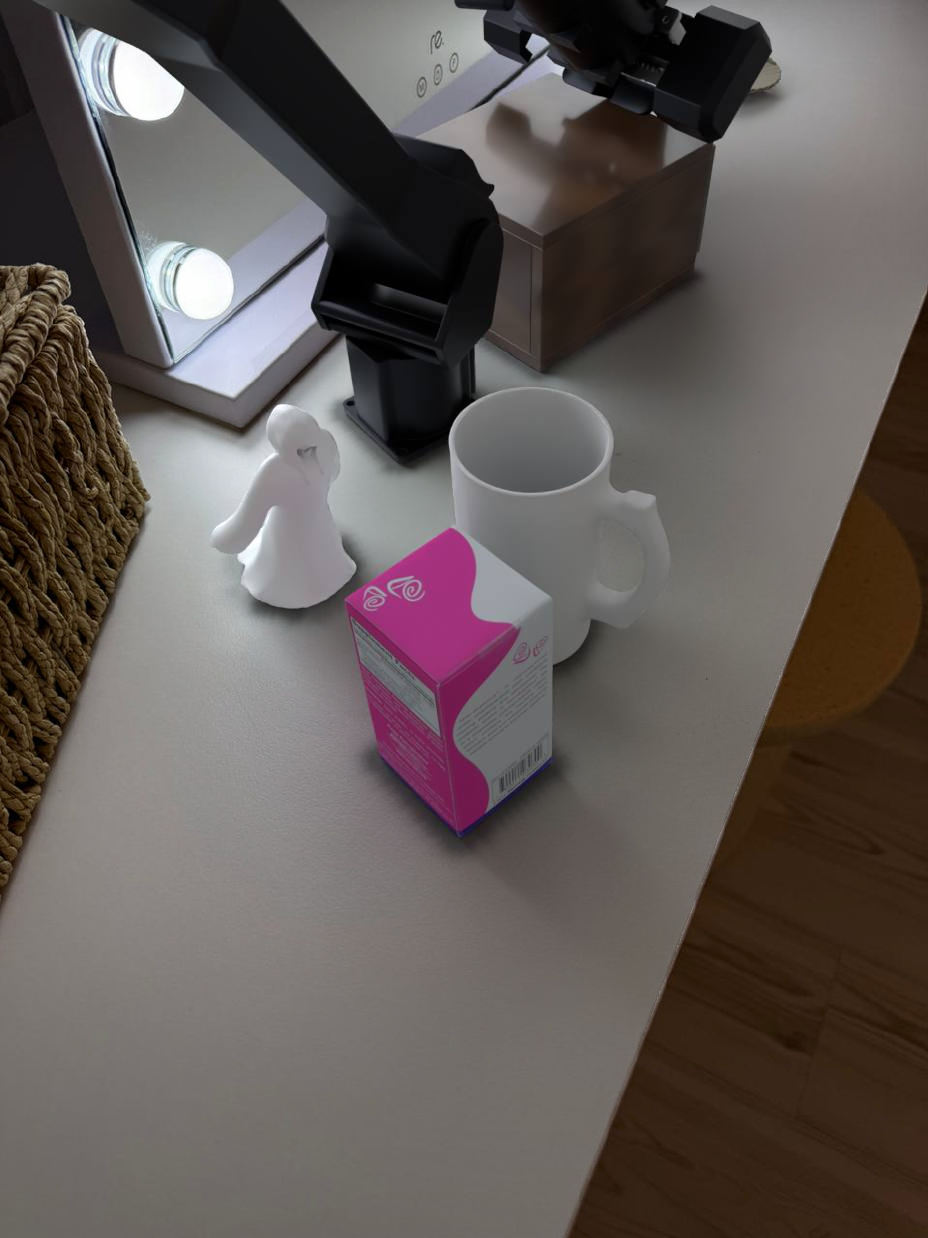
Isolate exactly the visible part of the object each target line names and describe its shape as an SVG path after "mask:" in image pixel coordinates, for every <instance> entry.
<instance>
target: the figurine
mask: <svg viewBox="0 0 928 1238" xmlns="http://www.w3.org/2000/svg"><path fill="white" fill-rule="evenodd" d="M265 433H266V437H267V440H268V442H269V444H270V445H271V446H272V448H273V449H274V451H275V452H273V453H271V454H270V455H268V456H267V458H265V459H264V460H263V462H262V463H261V464H260V465H259V466H258V468H257V470H256V472H255V474H254V476H253V478H252V480H251V482H250V484H249V486H248V488H247V490H246V493H245V494H244V496H243V498H242V500H241V501H240V504H239V505H238V507H237V509H236V510H235V511H234V512H233V513H232V514H231V515H230V516H229V517H228V518H227V519H226V520H225V521H223V522H221V523H219V525H217V526H216V527H214V528H213V531H212V533H211V535H210V541H209V542H210V543H209V546H210V547H211V548H212V549H216V550H217V552H220V553H222V554H226V555H237V560H238V561H239V563H240V564H241V565H244V570H243V572H242V575H241V576H240V585H241V586H243V587H244V588H245V589H246V590H247V591H248V592H249V594H250V595H251V596H252V597H253V598H254V599H256V600H258V601H259V600H260V601H261V602H262V603H266V604H268V605H269V606H273V607H277V608H284V609H296V610H297V609H301V608H309V607H312V606H314V605H318V604H320V603H321V602H323V601H326V600H328V599H329V598H330V597H331V596H333V595H334V594H336V593H337V592H338V591H339V590H340V589H342V588H343V587H344V586H345V584H347V583H348V582H350V581H351V579H352V577H353V575H354V574H355V573H356V572H357V567H358V566H357V565H356V563H355V561H354V560H353V559H352V558H351V557H350V555H349V554H348V553H347V552H346V550H345V549H344V545H343V536H342V534H341V531H340V530H339V529H338V528H337V527H336V523H335V520H334V517H333V514H332V512H331V509H330V505H329V502H328V495H329V492H330V487H331V484H333V483H334V482H335V481H336V480H337V478H338V477H339V474H340V472H341V457H340V451H339V447H338V444H337V442H336V439H335V438H334V436H333V434H332V433H331V432H330V431H329V430H328V429H326V428H325V427H322V426H319V423H318V421H317V420H316V418H315V417H313V415H312V414H310V413H309V412H308V411H306V410H304V409H301V407H298V406H295V405H292V404H288V403H280V404H277V405H276V406H275V407H274V408H273V409H272V411H271V413H270V415H269V417H268V419H267V421H266V427H265ZM263 524H264V525H263Z"/></svg>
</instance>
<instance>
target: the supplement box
mask: <svg viewBox="0 0 928 1238" xmlns="http://www.w3.org/2000/svg"><path fill="white" fill-rule="evenodd" d="M344 605H345V609H346V615H347V618H348V622H349V627H350V631H351V635H352V640H353V645H354V649H355V653H356V657H357V662H358V666H359V670H360V675H361V679H362V682H363V687H364V692H365V696H366V701H367V705H368V709H369V713H370V718H371V723H372V727H373V730H374V731H373V732H374V736H375V740H376V746H377V749H378V753H379V757H380V759H381V760H382V761H383V763H385V764H386V765H387V766H388V767H389V768H390V769H391V771H393V773H395V774H396V775H397V777H399V778H400V779H401V780H402V782H403V783H404V784H405V785H407V787H408V788H409V789H410V790H411V791H412V792H413V793H414V795H416V796H417V797H418V798H419V799H420V800H421V801H422V802H423V803H424V804H425V805H426V806H427V807H428V808H429V810H431V811H432V812H433V813H434V814H435V815H436V816H437V817H438V818H439V819H440V820H441V821H442V822H443V823H444V824H445V825H446V826H447V827H448V828H449V829H450V830H451V831H452V832H453V833H454V834H455V835H457V837H459V838H462V837H464V836H465V835H467V834H468V833H470V832H471V831H473V829H474V828H476V827H477V826H478V825H479V824H481V823H482V822H483V821H485V819H486V818H488V817H489V816H490V815H492V814H493V813H494V812H495V811H496V810H498V809H499V808H500V807H501V806H503V805H504V804H505V803H506V802H507V801H508V800H510V799H511V798H512V797H513V796H514V795H516V794H517V793H518V792H519V791H520V790H522V789H523V788H524V787H525V786H526V785H527V784H529V783H530V782H531V781H532V780H533V779H534V778H536V777H537V776H538V775H539V774H540V773H542V772H543V771H544V770H545V769H547V768H548V767H549V766H550V765H551V764H552V763H553V757H552V756H553V671H554V670H553V666H554V665H553V599H552V598H551V597H550V596H549V595H547V594H546V593H545V592H543V591H542V590H540V589H539V588H538V587H536V586H535V585H534V584H532V583H531V582H529V581H528V580H527V579H525V578H524V577H523V576H521V575H520V574H519V573H517V572H516V571H514V570H513V569H512V568H510V567H509V566H508V565H507V564H505V563H504V562H503V561H501V560H500V559H499V558H497V557H496V556H495V555H494V554H492V553H491V552H490V551H488V550H487V549H486V548H485V547H483V546H482V545H481V544H480V543H478V542H477V541H476V540H474V539H473V538H472V537H470V536H469V535H468V534H467V533H465V532H464V531H463V530H461V529H460V528H459V527H458V526H456V524H453V525H451V526H450V527H448V528H447V529H445V530H444V531H442V532H441V533H439V534H438V535H437V536H435V537H434V538H432V539H430V540H429V541H427V542H426V543H425V544H423V545H421V546H420V547H419V548H417V549H416V550H414V551H413V552H411V553H410V554H408V555H407V556H405V557H404V558H402V559H401V560H399V561H398V562H396V563H395V564H394V565H392V566H391V567H389V568H388V569H386V570H385V571H384V572H383V573H381V574H379V575H377V576H376V577H375V578H373V579H371V580H370V581H369V582H367V583H366V584H364V585H362V586H361V587H360V588H358V589H356V590H355V591H354V592H352V593H351V594H350V595H348V596H347V597H345V598H344Z"/></svg>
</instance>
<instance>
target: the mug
mask: <svg viewBox="0 0 928 1238" xmlns="http://www.w3.org/2000/svg"><path fill="white" fill-rule="evenodd" d="M613 433H614V432H613V430H612V427H611V425H610V423H609V421H608V420H607V418H606V417H605V416H604V415H603V413H602V412H601V411H600V410H598V408H596V407H595V406H594V405H593V404H592V403H590V402H588V401H587V400H585V399H584V398H581V397H579V396H577V395H575V394H572V393H570V392H567V391H564V390H561V389H555V388H550V387H543V386H521V387H512V388H505V389H502V390H498V391H495V392H491V393H489V394H486V395H484V396H482V397H481V398H478V399H477V400H476V401H475V402H473V403H472V404H470V405H469V406H468V407H466V408H465V409H464V410H463V411H462V412H461V413H460V414H459V415H458V417H457V418H456V420H455V421H454V423H453V425H452V428H451V431H450V435H449V440H448V449H449V454H450V455H449V459H450V460H449V461H450V474H451V484H452V485H451V486H452V495H453V496H452V497H453V506H454V507H453V508H454V517H455V525H456V526H458V527H459V528H460V529H461V530H463V531H464V532H465V533H467V534H468V535H469V536H470V537H472V538H473V539H474V540H476V541H477V542H478V543H480V544H481V545H482V546H483V547H485V548H486V549H487V550H488V551H490V552H491V553H492V554H494V555H495V556H496V557H497V558H499V559H500V560H501V561H503V562H504V563H505V564H507V565H508V566H509V567H510V568H512V569H513V570H514V571H516V572H517V573H519V574H520V575H521V576H523V577H524V578H525V579H527V580H528V581H529V582H531V583H532V584H534V585H535V586H536V587H538V588H539V589H540V590H542V591H543V592H545V593H546V594H547V595H549V596H550V597H551V598H552V599H553V666H554V665H557V664H558V663H560V662H563V661H565V660H567V659H568V658H570V657H571V656H572V655H573V654H575V653H576V652H577V651H578V650H579V649H580V648H581V646H582V645H583V643H584V642H585V641H586V640H585V639H586V638H587V636H588V635H589V631H590V627H591V621H592V620H595V621H598V622H602V623H605V624H607V625H610V626H612V627H614V628H616V629H619V630H625V629H628V628H629V627H631V626H632V624H634V623H635V621H636V620H638V618H639V617H640V616H641V615H642V614H643V613H644V612H645V611H646V610H647V609H648V608H649V607H650V606H651V605H652V604H653V603H654V602H655V601H656V600H657V598H658V597H659V596H660V594H661V593H662V591H663V589H664V588H665V586H666V583H667V581H668V578H669V575H670V569H671V552H670V551H671V550H670V546H669V542H668V539H667V535H666V532H665V529H664V526H663V523H662V521H661V519H660V516H659V513H658V510H657V498H656V495H655V494H654V495H653V494H650V493H645V492H641V491H638V490H634V489H630V490H628V491H627V492H621V491H618V490H617V489H616V488H614V487H613V486H612V485H611V482H610V475H611V467H612V466H611V465H612V457H613V453H614V448H615V447H614V446H615V438H614V434H613ZM605 521H607V522H612V523H615V524H618V525H620V526H621V527H623V528H625V529H626V530H627V531H629V532H630V533H631V535H632V536H633V537H634V538H635V540H636V541H637V542H638V544H639V547H640V549H641V551H642V553H643V559H644V569H643V574H642V576H641V579H640V581H639V583H638V584H637V585H636V586H635V587H634V588H632V589H630V590H626V591H616V590H615V589H614V590H613V589H611V588H609V587H607V586H604V585H603V584H601V582H600V581H599V580H598V569H599V561H600V554H601V544H602V539H603V538H602V537H603V530H604V522H605Z"/></svg>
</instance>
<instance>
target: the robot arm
mask: <svg viewBox="0 0 928 1238" xmlns="http://www.w3.org/2000/svg"><path fill="white" fill-rule="evenodd" d="M32 1H33V2H35V3H37V4H38V5H40V6H42V7H44V8H45V9H48V10H50V11H52V12H55V13H57V14H58V15H59V14H60V15H61V16H64V17H66V18H68V19H70V20H73V21H74V22H77V23H80V24H82V25H84V26H86V27H89V28H91V29H93V30H95V31H98V32H100V33H103V34H104V35H107V36H109V37H112V38H114V39H116V40H118V41H120V42H123V43H125V44H127V45H130V46H132V47H133V48H136V49H137V50H140V51H141V52H143V53H145V54H146V55H147V56H149V57H150V58H151V59H153V61H155V62H156V64H158V65H159V66H160V67H161V68H162V69H163V70H165V71H166V72H167V73H168V74H169V75H170V76H171V77H172V78H174V80H176V82H178V83H179V84H180V85H181V86H182V87H184V88H185V89H186V90H187V91H188V92H189V93H191V95H193V96H194V97H195V98H196V99H197V100H198V101H200V103H202V104H203V105H204V106H205V107H206V108H207V109H208V110H209V111H210V112H212V114H213V115H215V116H216V117H217V118H218V119H220V120H221V122H223V123H224V124H225V125H226V126H227V127H229V128H230V129H231V130H232V131H233V132H234V133H235V134H236V135H238V136H239V137H240V138H241V139H242V140H243V141H244V142H245V143H247V144H248V145H249V146H250V147H251V148H252V149H253V150H255V152H256V153H258V155H260V156H261V157H262V158H263V159H265V160H266V162H268V163H269V165H271V166H272V167H274V168H275V169H276V170H277V171H278V172H279V173H280V174H281V175H282V176H284V177H285V178H286V179H287V180H288V181H289V182H290V183H291V184H292V185H294V186H295V187H296V188H297V189H298V190H299V191H300V192H301V193H302V194H304V196H306V197H307V198H308V200H311V201H312V202H313V204H315V205H316V206H317V207H318V208H319V209H320V210H321V211H323V212H324V214H325V215H326V218H325V226H324V232H323V237H324V241H325V242H326V244H327V245H328V247H327V250H326V253H325V255H324V260H323V262H322V266H321V269H320V272H319V276H318V279H317V282H316V285H315V288H314V292H313V295H312V298H311V301H310V309H311V312H312V313H313V315H314V317H315V319H316V321H317V323H318V324H319V326H320V328H321V329H322V330H325V331H328V332H332V331H333V332H337V333H340V334H343V335H344V338H345V347H346V353H347V358H348V364H349V365H348V367H349V372H350V379H351V385H352V392H353V395H352V396H351V397H349V398H346V399H345V400H344V401H343V402H342V409H343V412H344V413H345V414H346V415H347V416H348V417H349V418H350V419H351V420H352V421H353V422H355V424H357V425H358V426H359V428H361V429H362V430H363V431H364V432H365V433H366V434H367V435H368V436H369V437H370V438H371V439H373V440H374V441H375V442H376V444H378V445H379V446H380V448H382V449H383V450H384V451H385V452H386V453H387V454H388V455H390V456H391V458H392V459H394V461H396V462H398V463H402V464H403V463H404V464H405V463H408V462H410V461H412V460H414V459H416V458H418V457H420V456H421V455H423V454H425V453H427V452H429V451H431V450H433V449H435V448H437V447H439V446H441V445H442V444H445V443H447V442H449V435H450V431H451V428H452V425H453V423H454V421H455V420H456V418H457V417H458V415H459V414H460V413H461V412H462V411H463V410H464V409H465V408H466V407H468V406H469V405H470V404H472V403H473V402H475V401H477V400H476V399H475V398H474V397H473V396H472V395H474V394H476V391H477V374H476V373H477V371H476V352H475V351H476V347H475V346H476V345H477V343H479V341H480V340H481V339H482V338H484V337H483V335H484V334H485V333H486V332H487V331H488V330H489V329H490V327H491V326H492V322H493V315H494V309H495V302H496V296H497V289H498V283H499V276H500V270H501V263H502V257H503V249H504V236H503V231H502V228H501V226H500V220H499V215H498V212H497V210H496V208H495V206H494V203H493V201H492V200H491V199H490V198H489V196H490V195H491V194H492V193H493V191H494V188H495V185H494V184H490V183H486V182H485V181H484V180H483V179H482V178H481V176H480V175H479V172H478V170H477V168H476V165H475V163H474V161H473V160H472V158H471V157H470V156H469V155H468V154H467V153H466V152H465V151H464V150H462V149H459V148H455V147H451V146H447V145H443V144H439V143H434V142H430V141H426V140H422V139H418V138H414V137H415V136H410V135H405V134H402V133H398V132H394V131H391V130H390V129H389V128H388V126H386V124H385V123H384V122H383V120H382V119H381V118H380V117H379V115H378V114H376V112H375V111H374V109H372V107H371V106H370V105H369V104H368V102H367V101H366V100H365V99H364V97H362V96H361V94H360V93H359V92H358V90H357V89H356V88H355V87H354V85H352V83H351V82H350V81H349V79H348V78H347V77H346V76H345V74H343V72H342V71H341V70H340V69H339V68H338V67H337V65H336V64H335V63H334V61H332V59H331V58H330V57H329V56H328V54H327V53H326V52H325V51H324V49H323V48H322V47H321V46H320V45H319V44H318V42H317V41H316V40H315V39H314V38H313V37H312V35H311V34H310V33H309V31H308V30H307V29H306V28H305V26H304V25H303V24H302V23H301V22H300V21H299V20H298V19H297V16H295V15H294V13H293V12H292V11H291V10H290V9H289V8H288V7H287V4H285V3H284V1H283V0H32ZM668 1H669V0H453V2H454V6H456V8H458V9H461V10H462V9H463V10H477V11H485V13H484V15H483V17H482V29H483V41H484V42H485V43H486V44H488V45H489V46H490V47H491V48H492V49H493V50H494V51H495V53H497V54H498V55H500V56H502V57H504V58H507V59H510V60H511V61H514V62H517V63H519V64H521V65H524V66H527V65H529V63H530V61H531V60H532V57H533V55H534V54H533V53H532V51H530V50H529V49H528V48H527V46H528V44H529V41H530V39H531V38H532V35H535V36H538V37H540V38H543V39H545V40H546V41H547V43H549V45H550V47H549V50H548V51H547V53H546V57H547V58H548V59H549V60H550V62H552V63H553V64H554V65H557V66H559V67H561V68H563V71H562V73H561V76H562V79H563V81H564V82H565V83H566V84H568V85H571V86H573V87H575V88H578V89H580V90H582V91H585V92H587V93H589V94H592V95H595V96H600V97H604V98H609V99H611V100H610V102H611V103H613V104H615V105H617V106H620V107H622V108H624V109H627V110H629V111H631V112H634V113H636V114H638V115H642V116H646V115H649V114H652V113H654V115H655V116H657V117H658V118H659V119H660V120H662V121H663V122H665V123H666V124H668V125H669V126H671V127H672V128H674V129H675V130H678V131H680V132H682V133H685V134H687V135H689V136H692V137H694V138H696V139H699V140H701V141H703V142H706V143H708V144H710V143H713V144H714V142H716V141H720V140H721V139H723V137H724V136H725V135H726V132H727V130H728V129H729V128H730V126H731V124H732V122H733V121H734V119H735V117H736V115H737V114H738V112H739V110H740V108H741V107H742V105H743V103H744V101H745V99H746V98H747V96H748V95H749V94H750V93H749V91H750V89H751V88H752V86H753V84H754V82H755V81H756V79H757V77H758V76H759V74H760V72H761V70H762V69H763V67H764V65H765V64H766V62H767V60H768V58H769V57H770V56H771V55H772V53H773V47H772V42H771V38H770V36H769V34H768V33H767V32H766V30H765V28H764V26H763V24H762V23H761V21H759V20H756V19H753V18H750V17H747V16H745V15H742V14H739V13H735V12H733V11H731V10H728V9H724V8H721V7H719V6H716V5H713V4H711V5H709V6H707V7H705V8H702V9H701V10H699V11H697V12H696V13H695V14H694V16H692V15H691V14H688V13H685V12H682V11H680V9H678V8H674V7H671V6H669V5H667V3H668ZM770 58H771V57H770Z"/></svg>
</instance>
